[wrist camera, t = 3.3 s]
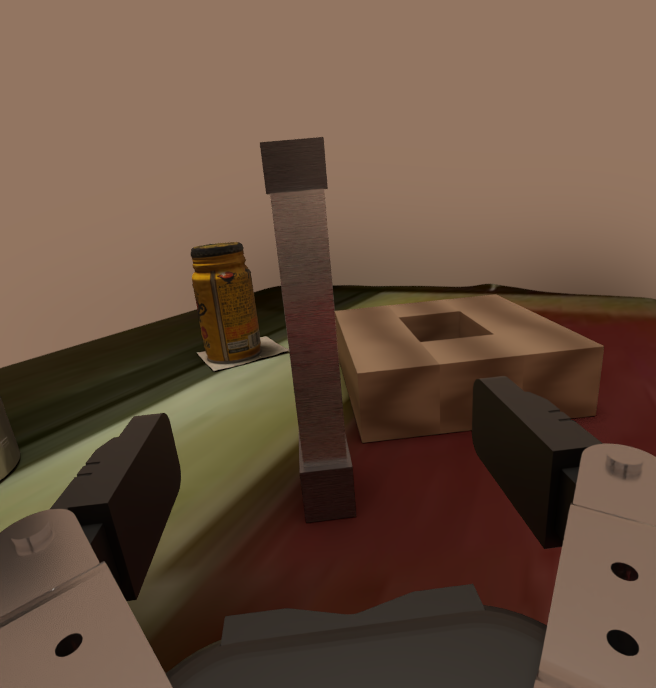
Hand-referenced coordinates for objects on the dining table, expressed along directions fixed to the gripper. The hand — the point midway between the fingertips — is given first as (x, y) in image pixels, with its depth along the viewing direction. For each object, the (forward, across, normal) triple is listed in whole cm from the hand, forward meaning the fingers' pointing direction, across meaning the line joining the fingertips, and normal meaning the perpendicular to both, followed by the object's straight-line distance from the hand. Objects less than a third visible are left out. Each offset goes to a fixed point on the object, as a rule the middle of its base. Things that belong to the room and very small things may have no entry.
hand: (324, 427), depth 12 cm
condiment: (+36, +8, +10) cm, 39 cm away
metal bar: (+10, 0, +10) cm, 14 cm away
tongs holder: (+23, -11, +10) cm, 27 cm away
